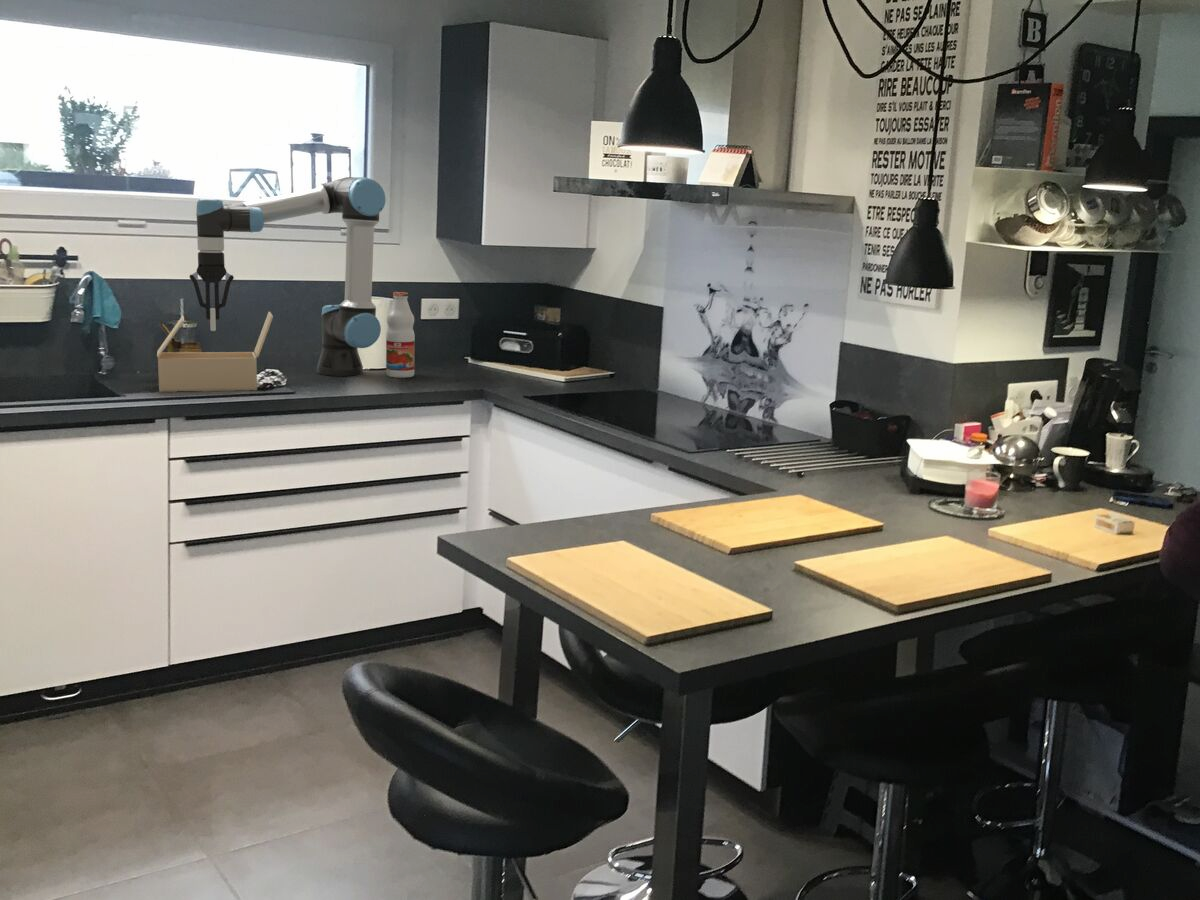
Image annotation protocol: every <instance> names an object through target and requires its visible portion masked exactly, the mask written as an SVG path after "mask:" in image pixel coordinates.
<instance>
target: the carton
mask: <svg viewBox="0 0 1200 900" xmlns="http://www.w3.org/2000/svg"><path fill="white" fill-rule="evenodd" d="M257 361H258V360H257V356H256V354H255V352H254V351H233V352H232V351H229V352H226V351H219V352H218V351H217V352H215V351H212V352H211V351H210V352H209V351H207V352H206V351H205V352H203V351H202V352H185V353H178V352H174V353H168V352H162V353H161V355H160V356H159V357H157V371H158V392H159V393H178V392H177V391H202V392H236V391H235V390H246V391H245V392H249V390H254V392H255V391H258V375H257V374H258V369H257V368H258V366H257V363H258V362H257ZM247 390H248V391H247Z"/></svg>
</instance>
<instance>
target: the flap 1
mask: <svg viewBox="0 0 1200 900" xmlns="http://www.w3.org/2000/svg"><path fill="white" fill-rule="evenodd" d="M184 322H185V316H184V315H182V316H181V317H180V318H179V319H178V321H177V322H176V324H175V325H174V327H173V328H172V330H171V331H170V334H169V335H168V336H167V337H165V339H164V341H163V342H162V344H161V345H160V347H159V348H158V349H157V352H156V353H157V354H156V358H158V357H159V356H160V355H161V353H164V350H165V349H166V347H168V345H169V343H170V341H171V339H172V338H173V336H174V337H175V335H176V333H177V332H178V331H179V330H180V328H181V327H182V325H183V324H184Z"/></svg>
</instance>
